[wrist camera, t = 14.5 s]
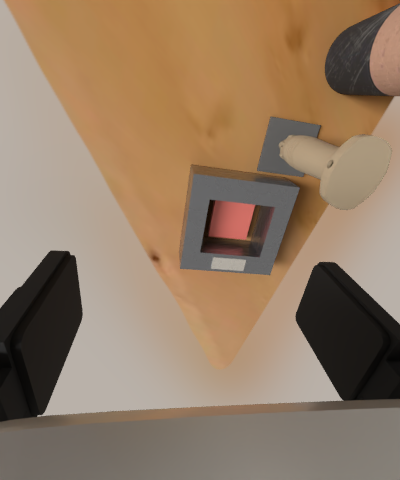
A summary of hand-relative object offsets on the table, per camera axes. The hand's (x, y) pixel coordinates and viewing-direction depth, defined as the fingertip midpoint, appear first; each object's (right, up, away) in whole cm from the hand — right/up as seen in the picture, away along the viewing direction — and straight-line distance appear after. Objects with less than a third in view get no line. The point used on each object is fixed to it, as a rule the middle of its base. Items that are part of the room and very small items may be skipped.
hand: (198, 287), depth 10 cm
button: (+5, +5, +29) cm, 30 cm away
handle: (+12, +15, +25) cm, 32 cm away
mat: (+12, +15, +26) cm, 32 cm away
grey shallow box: (+5, +6, +30) cm, 31 cm away
